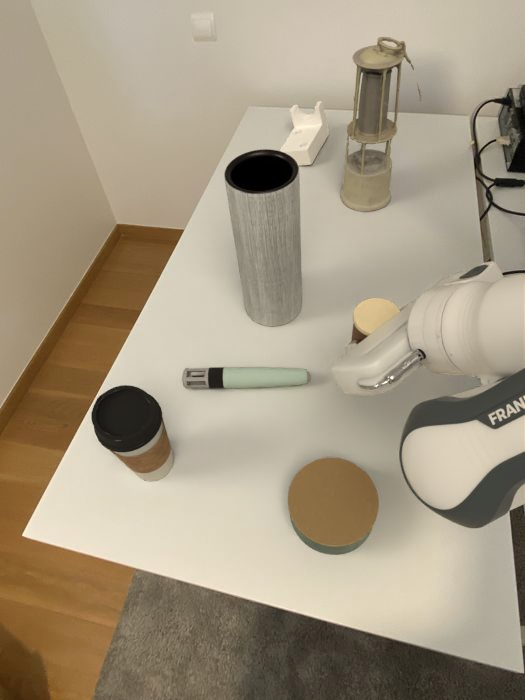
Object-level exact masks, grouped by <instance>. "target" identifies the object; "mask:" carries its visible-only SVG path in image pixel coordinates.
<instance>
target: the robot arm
mask: <svg viewBox="0 0 525 700" xmlns="http://www.w3.org/2000/svg"><path fill="white" fill-rule="evenodd" d="M399 309H400V312H399V313H398V314H396V315H395V316H394V317H392V318H391V319H390V320H388V321H387V322H386V323H385V324H383V325H382V326H381V327H379V328H378V329H377V330H375V331H374V332H373V333H371V334H370V335H369V336H368V337H366V338H365V339H364V340H362V341H361V340H360V339H357V340H355V339H354V340H352V339H351V340H352V341H350V342H348V343H346V345H344V349H345V350H346V352H345V353H344V354H343V355H341V356H340V357H338V358H337V359H336V360H335V361H333V362H332V363H331V365H330V374H331V376H332V378H333V381H334V382H335V384H336V386H337V387H338V389H339V390H340V391H341V392H342V394H344V395H347V396H376V395H381V394H385V393H387V392H389V391H391V390H393V389H394V388H396V387H397V386H398V385H400V384H401V383H402V382H403V381H405V379H407V378H408V377H409V376H410V375H412V374H413V373H414V372H415V371H417V370H418V369H419V368H420V367H421V366H422V367H423V368H425V369H426V370H428V371H430V372H432V373H435V374H444V375H458V376H459V375H461V376H473V377H474V376H475V377H477V378H478V379H479V380H480V381H481V386H478V387H475V388H472V389H468V390H465V391H462V392H459V393H455V394H452V395H444V396H439V397H436V398H431V399H427V400H423V401H420V402H418V403H417V404H416V405H415V406H414V407H412V409H411V410H410V412H409V414H408V416H407V418H406V421H405V423H404V426H403V430H402V433H401V437H400V443H399V451H398V452H399V454H398V456H399V457H398V458H399V465H400V469H401V474H402V476H403V478H404V481H405V483H406V485H407V487H408V488H409V490H410V491H411V493H412V494H413V495H414V497H415V498H416V499H417V500H418V501H419V502H420V503H421V504H423V505H424V506H426V508H427V509H429V510H430V511H432V512H433V513H435V514H437V515H438V516H440V517H442V518H443V519H445V520H447V521H450V522H451V523H454V524H457V525H459V526H461V527H464V528H467V529H481V528H483V527H485V526H487V525H489V524H491V523H493V522H495V521H497V520H498V519H500V518H502V517H503V516H505V515H506V514H508V513H509V512H510V511H512V510H514V509H516V508H519V507H521V506H524V505H525V272H524V273H517V274H511V275H507V276H504V274H503V272H502V270H500V266H498V263H496V261H494V260H491V261H486V262H482V263H479V264H478V265H476V266H475V267H473V268H470V269H464V270H463V271H462V270H461V271H458V272H455V273H451V274H449V275H447V276H445V277H443V278H441V279H440V280H439V281H438V282H436V283H435V284H434V285H432V286H431V287H430V288H428V289H427V290H426V291H424V292H423V293H422V294H420V295H419V296H418V297H416V299H414V300H413V301H412V302H411V303H409V304H407V305H405V306H403V307H400V308H399Z"/></svg>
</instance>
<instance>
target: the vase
mask: <svg viewBox="0 0 525 700" xmlns="http://www.w3.org/2000/svg"><path fill="white" fill-rule="evenodd" d="M223 176H224V184H225V190H226V196H227V202H228V203H227V204H228V209H229V215H230V221H231V228H232V234H233V240H234V246H235V254H236V258H237V265H238V270H239V271H238V272H239V276H240V282H241V290H242V294H243V295H242V297H243V303H244V306H245V311H246V313H247V315H248V317H249V318H250V319H251V320H252V321H253V322H255V323H257V324H259V325H261V326H266V327H276V326H277V327H279V326H283V325H287V324H288V323H290V322H292V321H293V320H294V319H295V318H296V317H298V315H299V314H300V312H301V310H302V307H303V306H302V305H303V282H302V281H303V277H302V235H301V234H302V231H301V227H302V226H301V189H300V188H301V187H300V186H301V184H300V167H299V166H298V164H297V162H296V161H295V159H294V158H292V157H291V156H290V155H288V154H286V153H284V152H281V151H280V150H276V149H267V148H264V149H263V148H262V149H256V150H255V149H254V150H250V151H247V152H244V153H242V154H239V155H238V156H236V157H235V158H233V159H232V160H231V161H230V162H229V163H228V164H227V166H226V167H225V170H224V174H223Z"/></svg>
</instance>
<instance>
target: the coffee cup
mask: <svg viewBox="0 0 525 700" xmlns="http://www.w3.org/2000/svg"><path fill="white" fill-rule="evenodd" d="M90 415H91V422H92V426H93V431H94V434H95V435H96V438H97V440H98V442H99V443H100V445H101V446H103V447H104V448H105V449H106V450H109V452H111V453H112V454H113V455H114V456H115V457H116V458H118V460H120V461H121V463H123V465H125V466H126V467H127V468H128V469H129V470H131V472H132V473H134V474H135V475H136V476H137V477H138V478H139V479H141V480H143V481H146V482H156V481H159V480H161V479H164V478H165V477H166V476H167V475H168V474H169V473H170V472H171V470H172V469H173V466H174V462H175V455H174V451H173V448H172V445H171V441H170V438H169V434H168V431H167V428H166V425H165V421H164V417H163V410H162V407H161V405H160V404H159V402H158V401H157V400H156V398H155V397H154V396H153V395H151V394H150V393H148V392H147V391H146V390H144V389H142V388H140V387H138V386H134V385H127V384H124V385H118V386H114V387H111V388H109V389H108V390H106V391H104V392H103V393H102V394H100V395H99V396H98V397H97V398H96V400H95V402H94V404H93V407H92V410H91V414H90Z"/></svg>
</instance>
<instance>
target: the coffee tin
mask: <svg viewBox="0 0 525 700" xmlns="http://www.w3.org/2000/svg"><path fill="white" fill-rule="evenodd" d="M287 505H288V506H287V507H288V511H289V517H290V521H291V524H292V527H293V529H294V532H295V533H296V535H297V536H298V538H299V539H300V540H301V541H302V542H303V543H304V544H305V545H306V546H308V548H310V549H312V550H314V551H316V552H318V553H320V554H324V555H329V556H339V555H345V554H348V553H350V552H353V551H354V550H356V549H358V548H360V546H362V545H363V544H364V543H365V542H366V541H367V540H368V538H369V536H370V535H371V532H372V530H373V527H374V525H375V523H376V521H377V517H378V515H379V509H380V508H379V507H380V506H379V495H378V491H377V488H376V486H375V483H374V481H373V480H372V479H371V476H370V475H369V474H368V473H367V472H366V471H365V470H364V469H362V467H360V466H358V465H357V464H356V463H354V462H351V461H349V460H347V459H344V458H340V457H339V458H338V457H321V458H318V459H315V460H312V461H310V462H309V463H306V464H305V465H304V466H303V467H301V468H300V469H299V470H298V472H297V473H296V474H295V475H294V476H293V479H292V480H291V483H290V485H289V489H288V492H287Z"/></svg>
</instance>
